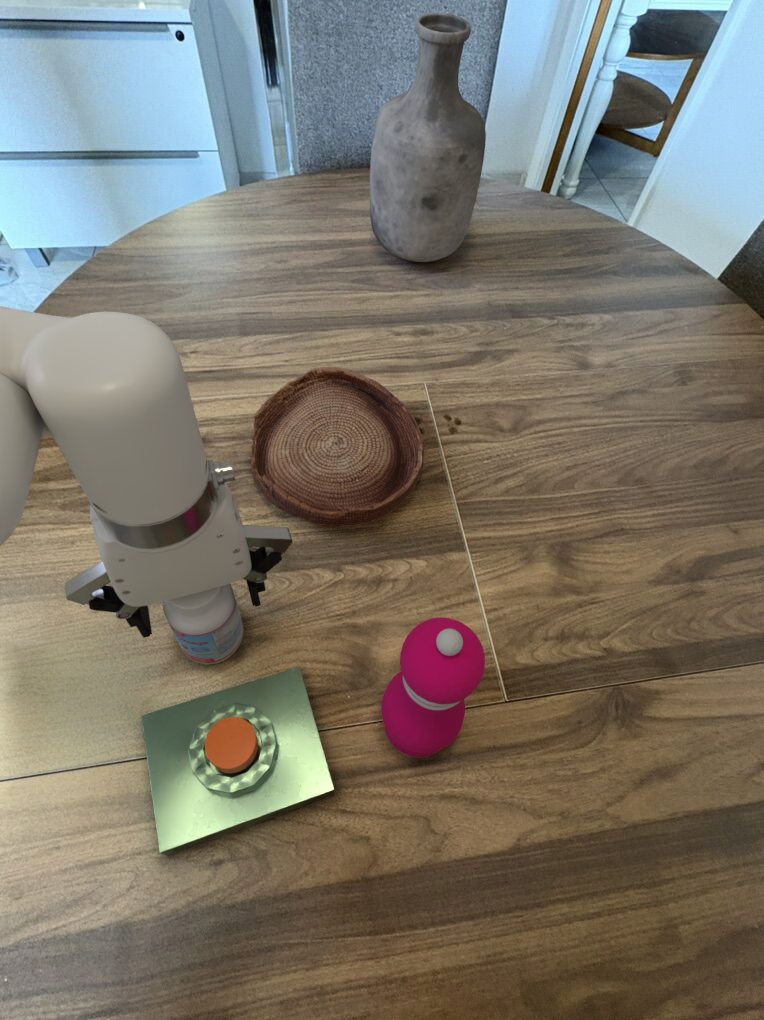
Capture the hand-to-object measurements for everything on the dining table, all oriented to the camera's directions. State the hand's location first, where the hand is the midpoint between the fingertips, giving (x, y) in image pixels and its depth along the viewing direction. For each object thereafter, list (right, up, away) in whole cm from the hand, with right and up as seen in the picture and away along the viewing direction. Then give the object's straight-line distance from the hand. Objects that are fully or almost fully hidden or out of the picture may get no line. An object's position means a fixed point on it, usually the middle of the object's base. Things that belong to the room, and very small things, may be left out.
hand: (200, 606), depth 54 cm
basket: (+11, +15, +19) cm, 26 cm away
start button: (+4, -11, -4) cm, 12 cm away
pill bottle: (0, -4, +6) cm, 7 cm away
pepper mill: (+19, -11, +2) cm, 22 cm away
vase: (+22, +51, +45) cm, 71 cm away
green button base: (+4, -13, -1) cm, 14 cm away
